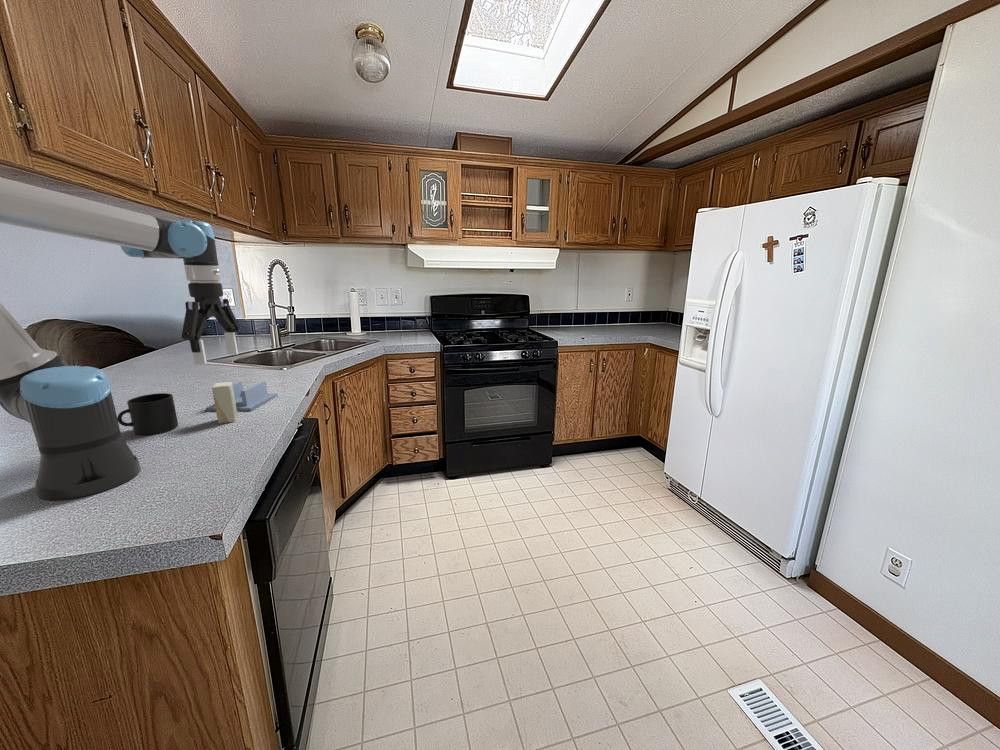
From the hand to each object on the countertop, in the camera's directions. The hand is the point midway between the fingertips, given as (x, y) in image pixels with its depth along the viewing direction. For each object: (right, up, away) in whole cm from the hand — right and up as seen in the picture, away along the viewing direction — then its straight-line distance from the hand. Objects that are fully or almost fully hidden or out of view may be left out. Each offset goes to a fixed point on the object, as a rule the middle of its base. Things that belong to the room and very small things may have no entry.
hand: (217, 358), depth 114 cm
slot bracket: (-5, -14, +20) cm, 25 cm away
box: (0, -18, +4) cm, 19 cm away
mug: (-16, -20, -4) cm, 26 cm away
